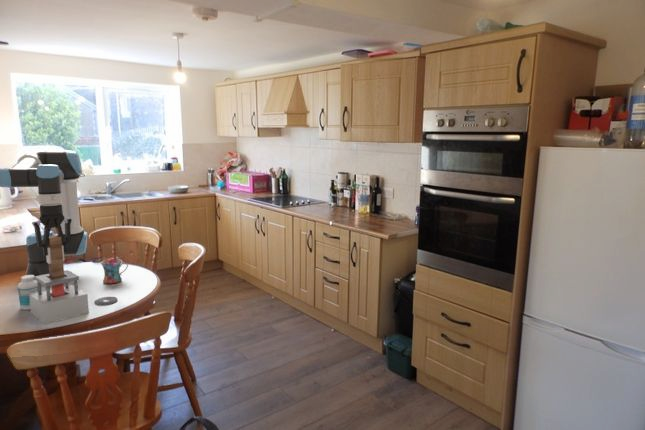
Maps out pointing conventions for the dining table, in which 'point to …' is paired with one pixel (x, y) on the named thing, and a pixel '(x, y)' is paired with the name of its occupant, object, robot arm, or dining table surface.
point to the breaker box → (58, 299)
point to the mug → (112, 270)
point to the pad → (105, 300)
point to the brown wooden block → (56, 257)
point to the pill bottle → (26, 290)
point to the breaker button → (58, 290)
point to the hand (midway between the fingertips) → (55, 261)
